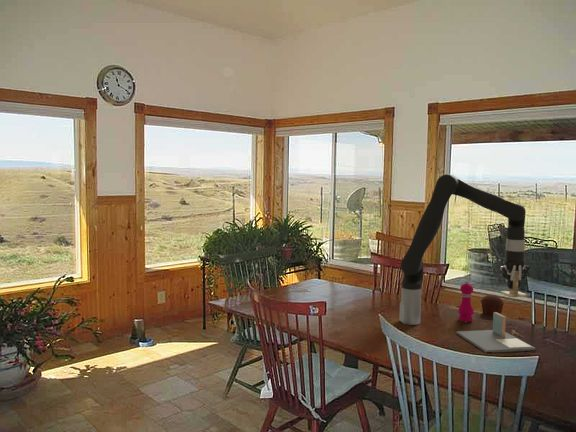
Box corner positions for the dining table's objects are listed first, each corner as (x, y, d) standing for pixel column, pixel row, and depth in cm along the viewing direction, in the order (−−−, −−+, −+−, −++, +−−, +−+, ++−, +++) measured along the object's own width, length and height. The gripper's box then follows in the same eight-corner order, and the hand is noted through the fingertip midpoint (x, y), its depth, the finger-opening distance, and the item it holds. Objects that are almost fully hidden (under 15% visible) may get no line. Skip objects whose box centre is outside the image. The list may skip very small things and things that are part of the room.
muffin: (484, 310, 256) (484, 291, 255) (506, 313, 249) (506, 295, 248) (477, 314, 247) (477, 295, 246) (499, 318, 240) (500, 299, 239)
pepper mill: (459, 317, 242) (460, 278, 241) (474, 319, 238) (476, 280, 237) (456, 320, 236) (458, 281, 234) (471, 323, 232) (473, 282, 231)
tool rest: (509, 348, 195) (509, 347, 195) (495, 340, 205) (495, 339, 205) (531, 347, 197) (531, 346, 197) (516, 339, 206) (516, 338, 206)
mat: (486, 352, 193) (486, 350, 192) (456, 333, 216) (456, 331, 216) (535, 350, 196) (535, 347, 196) (501, 331, 219) (501, 329, 219)
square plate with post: (509, 297, 206) (510, 272, 205) (500, 293, 213) (501, 269, 212) (526, 296, 207) (527, 271, 206) (517, 292, 214) (518, 268, 213)
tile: (501, 336, 209) (502, 316, 208) (492, 331, 216) (493, 312, 215) (505, 336, 209) (505, 316, 209) (495, 331, 216) (496, 312, 216)
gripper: (505, 251, 204) (504, 290, 205) (535, 250, 205) (533, 289, 207) (495, 248, 211) (494, 287, 212) (524, 248, 213) (523, 286, 214)
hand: (513, 288), depth 210 cm, fingers closed on square plate with post, 2 cm apart
